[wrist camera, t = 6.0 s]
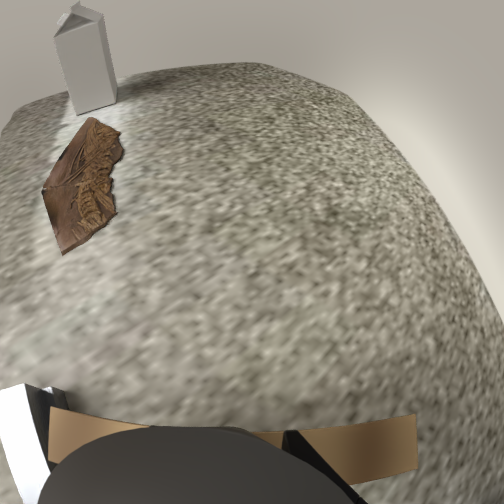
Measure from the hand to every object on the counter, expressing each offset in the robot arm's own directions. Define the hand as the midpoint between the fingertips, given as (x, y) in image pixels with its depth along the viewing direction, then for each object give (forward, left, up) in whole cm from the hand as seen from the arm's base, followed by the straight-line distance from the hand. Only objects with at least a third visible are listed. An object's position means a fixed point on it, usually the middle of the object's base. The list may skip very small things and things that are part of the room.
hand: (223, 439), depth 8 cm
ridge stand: (+11, +11, -13) cm, 20 cm away
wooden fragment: (+30, -16, -14) cm, 37 cm away
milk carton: (+42, -30, -14) cm, 53 cm away
